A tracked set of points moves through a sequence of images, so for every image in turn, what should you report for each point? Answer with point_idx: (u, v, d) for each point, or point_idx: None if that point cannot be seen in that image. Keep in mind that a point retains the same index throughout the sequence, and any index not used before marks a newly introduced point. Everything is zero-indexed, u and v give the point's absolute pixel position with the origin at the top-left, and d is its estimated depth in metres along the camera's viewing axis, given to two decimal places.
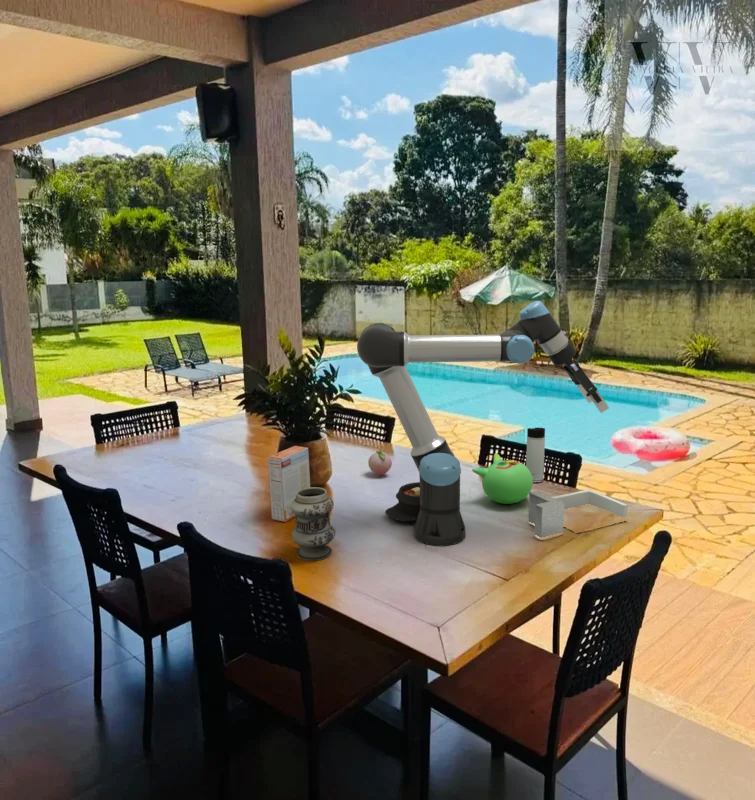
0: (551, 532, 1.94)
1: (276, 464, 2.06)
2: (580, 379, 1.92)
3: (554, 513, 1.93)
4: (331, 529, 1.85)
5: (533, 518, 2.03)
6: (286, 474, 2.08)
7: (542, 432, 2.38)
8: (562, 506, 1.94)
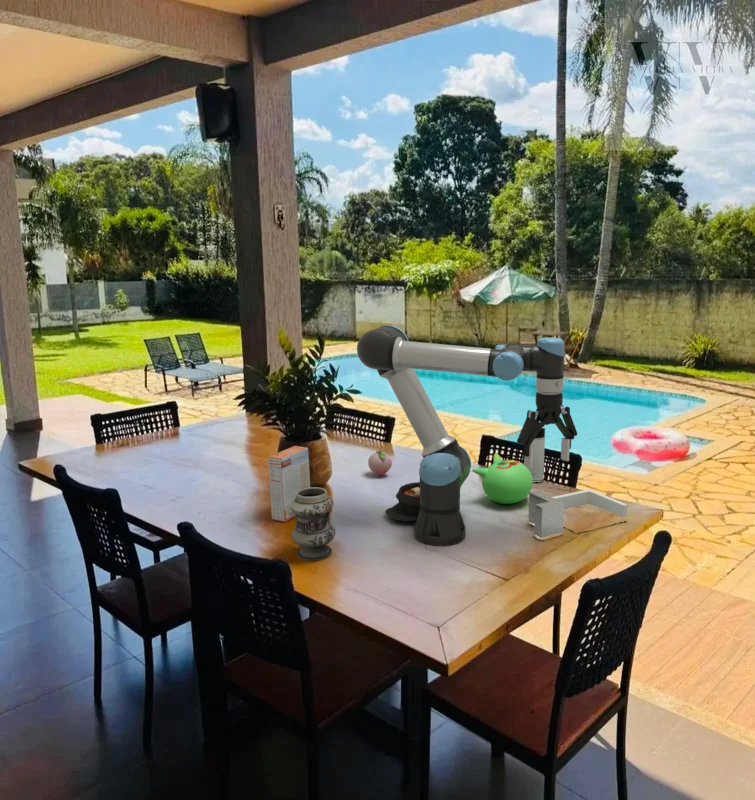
0: (551, 532, 1.94)
1: (276, 464, 2.06)
2: (524, 426, 1.92)
3: (554, 513, 1.93)
4: (331, 529, 1.85)
5: (533, 518, 2.03)
6: (286, 474, 2.08)
7: (542, 432, 2.38)
8: (562, 506, 1.94)
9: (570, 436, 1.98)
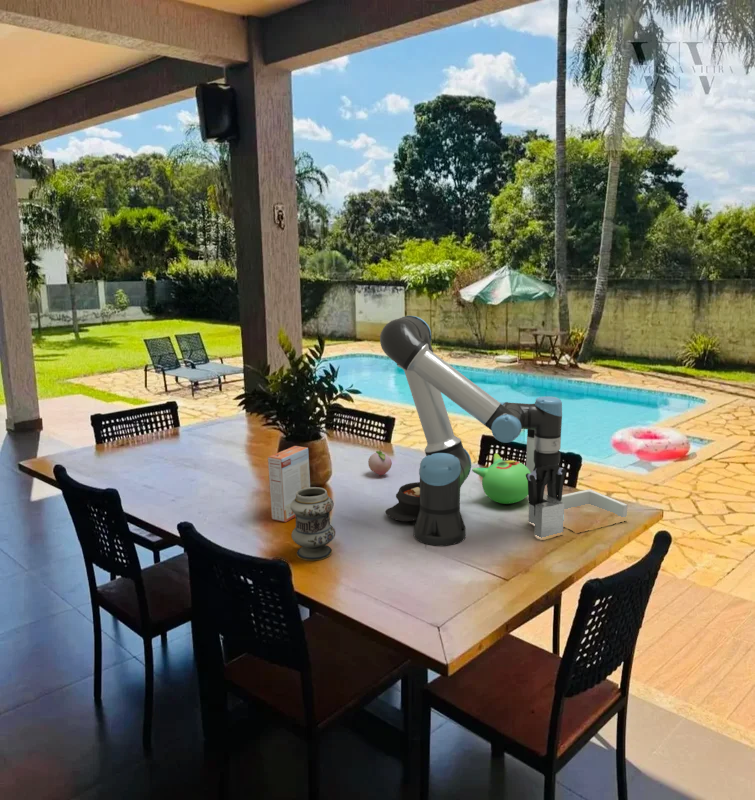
0: (551, 532, 1.94)
1: (276, 464, 2.06)
2: (528, 488, 1.97)
3: (554, 513, 1.93)
4: (331, 529, 1.85)
5: (533, 517, 2.03)
6: (286, 474, 2.08)
7: None
8: (562, 506, 1.94)
9: None
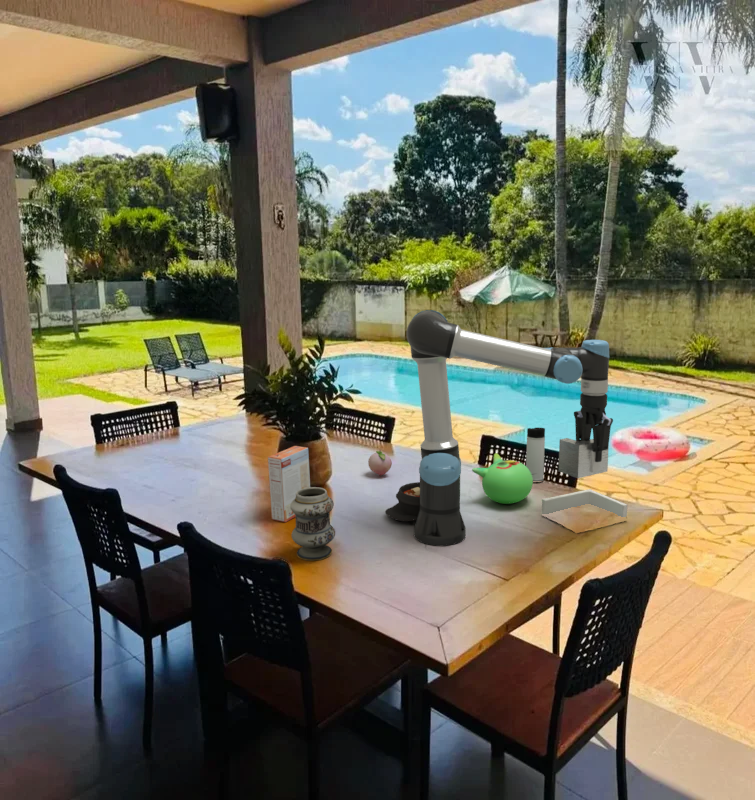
0: (567, 468, 2.01)
1: (276, 464, 2.06)
2: None
3: (570, 450, 1.99)
4: (331, 529, 1.85)
5: None
6: (286, 474, 2.08)
7: (542, 432, 2.38)
8: (577, 447, 1.96)
9: (595, 448, 1.97)
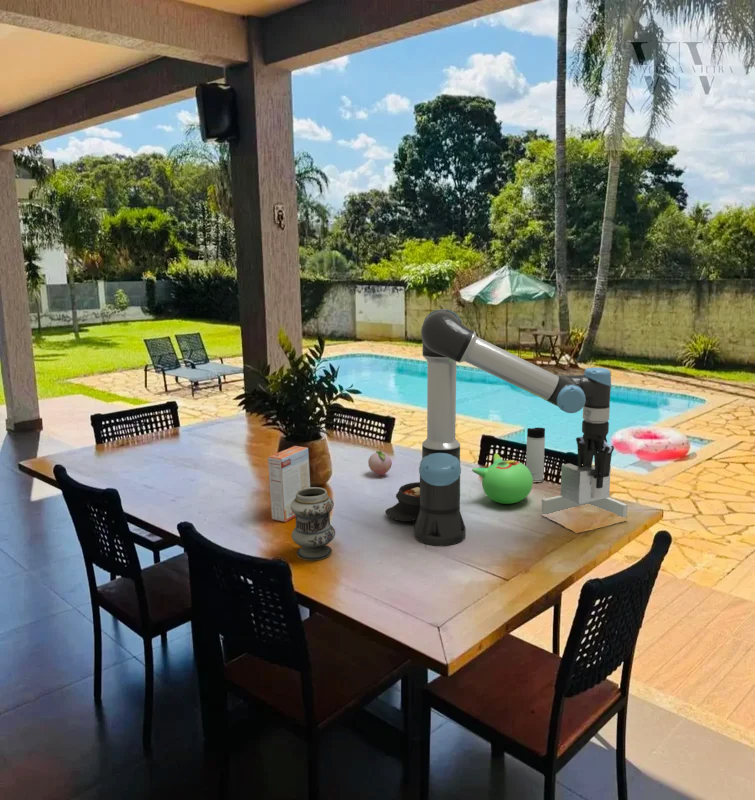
0: (568, 494, 2.03)
1: (276, 464, 2.06)
2: None
3: (571, 476, 2.01)
4: (331, 529, 1.85)
5: None
6: (286, 474, 2.08)
7: (542, 432, 2.38)
8: (578, 474, 1.99)
9: (596, 475, 1.99)
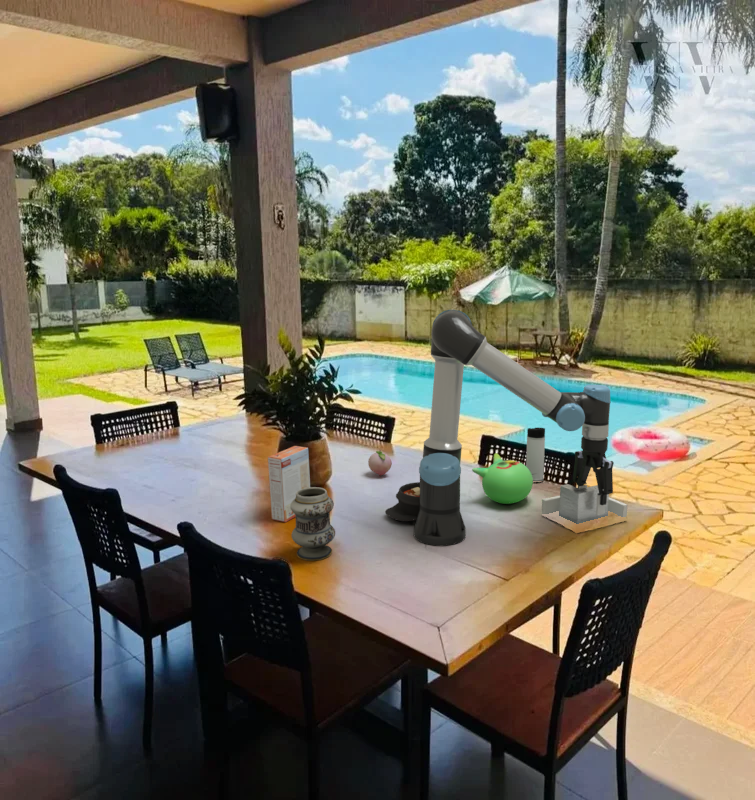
0: (567, 514, 2.05)
1: (276, 464, 2.06)
2: None
3: (570, 497, 2.03)
4: (331, 529, 1.85)
5: None
6: (286, 474, 2.08)
7: (542, 432, 2.38)
8: (577, 495, 2.00)
9: (600, 491, 1.99)
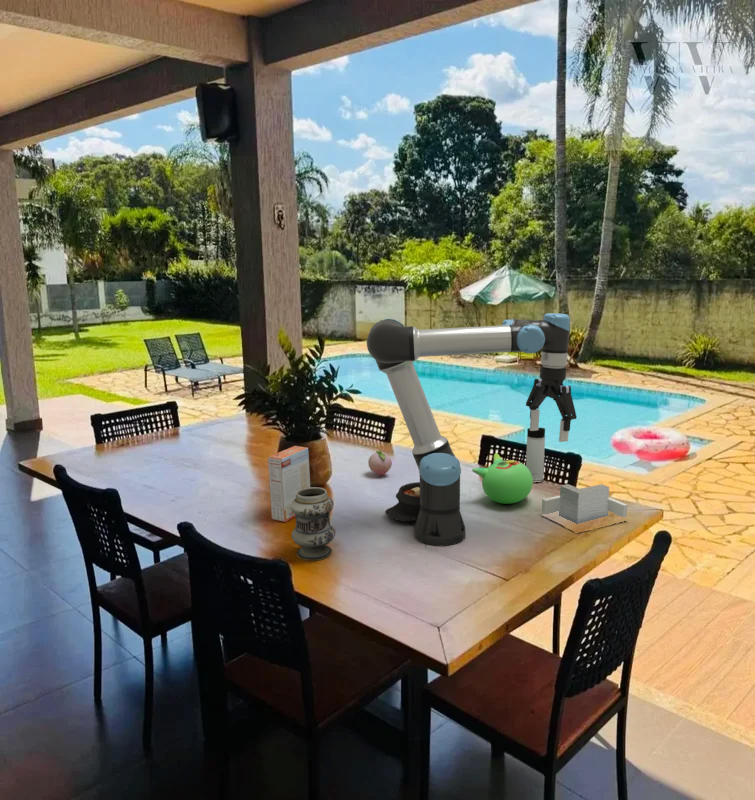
0: (567, 514, 2.05)
1: (276, 464, 2.06)
2: None
3: (570, 497, 2.03)
4: (331, 529, 1.85)
5: None
6: (286, 474, 2.08)
7: (542, 432, 2.38)
8: (577, 495, 2.00)
9: (563, 417, 1.95)
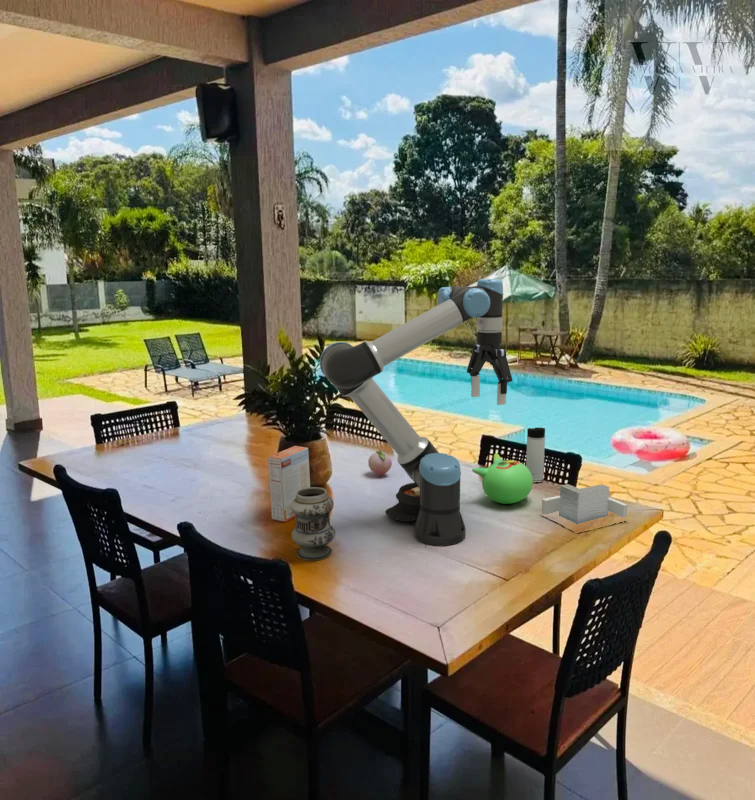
0: (567, 514, 2.05)
1: (276, 464, 2.06)
2: None
3: (570, 497, 2.03)
4: (331, 529, 1.85)
5: None
6: (286, 474, 2.08)
7: (542, 432, 2.38)
8: (577, 495, 2.00)
9: (499, 380, 1.98)
